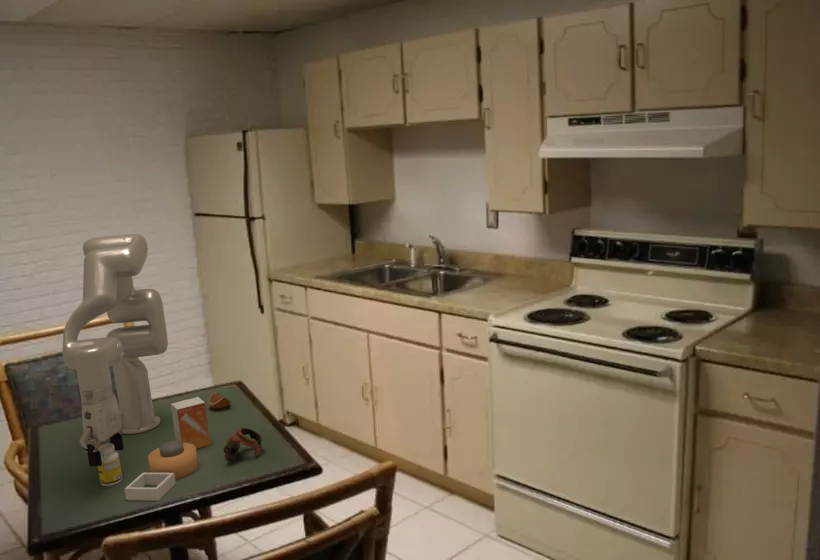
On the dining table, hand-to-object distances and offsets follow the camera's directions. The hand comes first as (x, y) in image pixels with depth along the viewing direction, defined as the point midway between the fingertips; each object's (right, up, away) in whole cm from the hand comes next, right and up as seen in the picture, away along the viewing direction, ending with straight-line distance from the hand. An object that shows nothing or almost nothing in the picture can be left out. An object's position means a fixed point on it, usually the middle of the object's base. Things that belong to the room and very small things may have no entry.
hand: (107, 457), depth 188 cm
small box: (+16, -2, +21) cm, 26 cm away
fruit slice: (+16, +4, +50) cm, 52 cm away
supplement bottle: (0, -7, +2) cm, 7 cm away
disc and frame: (+14, -6, 0) cm, 15 cm away
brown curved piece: (+32, -3, +12) cm, 34 cm away
